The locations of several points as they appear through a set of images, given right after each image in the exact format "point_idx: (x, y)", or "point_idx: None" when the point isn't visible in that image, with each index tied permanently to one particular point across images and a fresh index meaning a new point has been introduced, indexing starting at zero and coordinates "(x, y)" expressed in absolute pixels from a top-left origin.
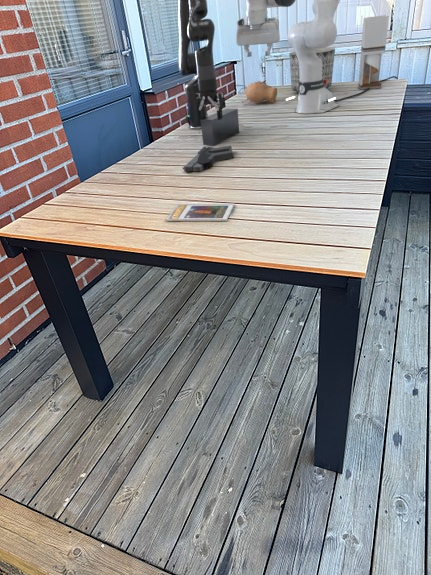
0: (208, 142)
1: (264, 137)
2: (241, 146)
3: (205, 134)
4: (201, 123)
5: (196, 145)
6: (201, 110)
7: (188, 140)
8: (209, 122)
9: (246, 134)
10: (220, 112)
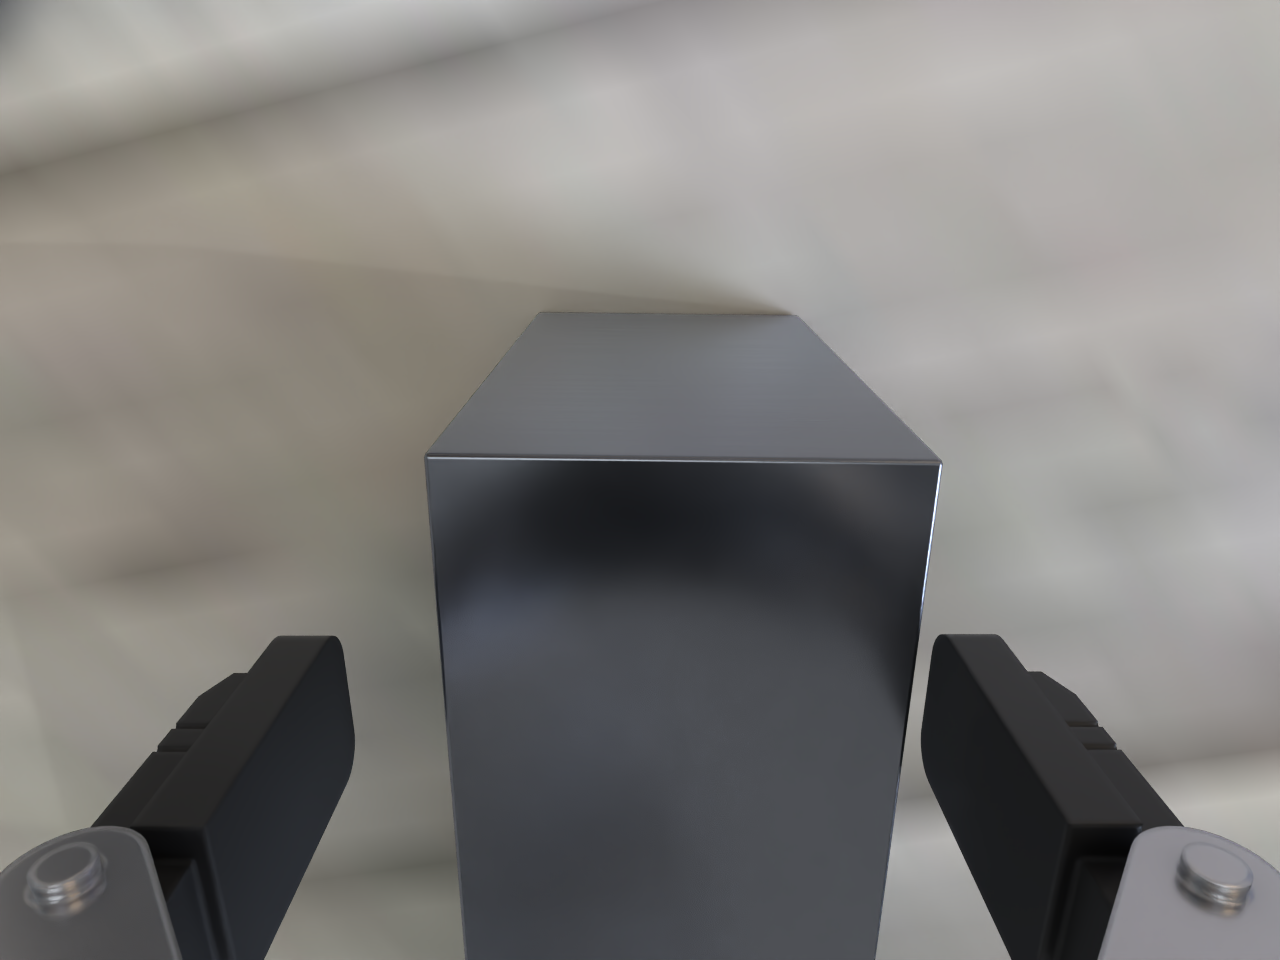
0: (670, 323)
1: (23, 846)
2: (13, 384)
3: (735, 354)
4: (874, 424)
5: (923, 246)
6: (1110, 858)
7: (1266, 493)
8: (539, 433)
9: (397, 922)
10: (116, 817)
